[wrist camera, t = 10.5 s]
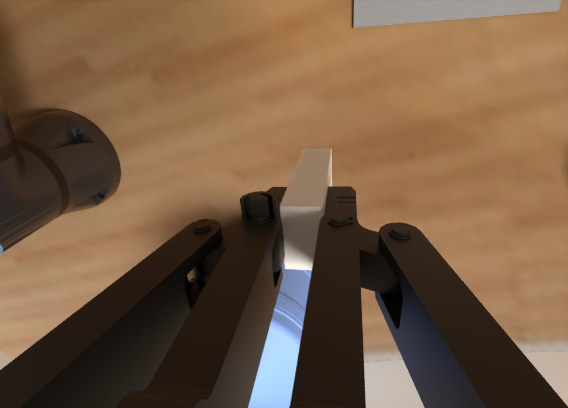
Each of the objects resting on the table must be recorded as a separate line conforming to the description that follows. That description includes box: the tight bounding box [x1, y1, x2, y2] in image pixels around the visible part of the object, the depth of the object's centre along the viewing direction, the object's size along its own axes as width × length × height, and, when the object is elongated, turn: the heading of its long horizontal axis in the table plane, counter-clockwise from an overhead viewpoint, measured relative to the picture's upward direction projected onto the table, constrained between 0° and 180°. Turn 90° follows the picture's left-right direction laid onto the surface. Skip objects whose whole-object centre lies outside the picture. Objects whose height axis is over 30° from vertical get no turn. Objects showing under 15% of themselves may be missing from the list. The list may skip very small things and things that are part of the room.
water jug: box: [248, 261, 312, 408], centre depth 41 cm, size 16×16×28 cm
